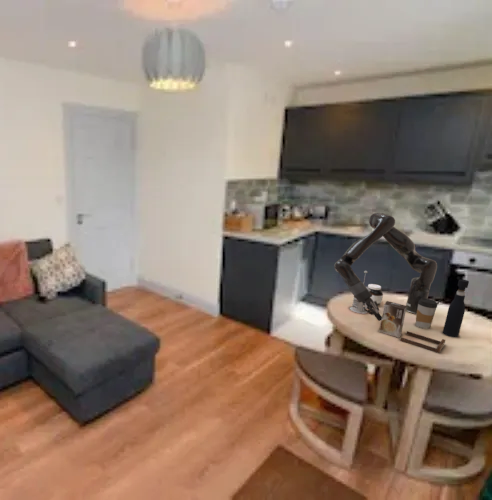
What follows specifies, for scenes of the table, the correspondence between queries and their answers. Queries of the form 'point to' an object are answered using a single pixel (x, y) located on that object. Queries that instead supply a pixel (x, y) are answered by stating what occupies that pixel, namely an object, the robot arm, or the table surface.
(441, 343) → the bay
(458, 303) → the dark water bottle
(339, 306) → the table surface
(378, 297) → the spread jar
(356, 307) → the french press
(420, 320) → the coffee cup
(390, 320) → the coffee box
